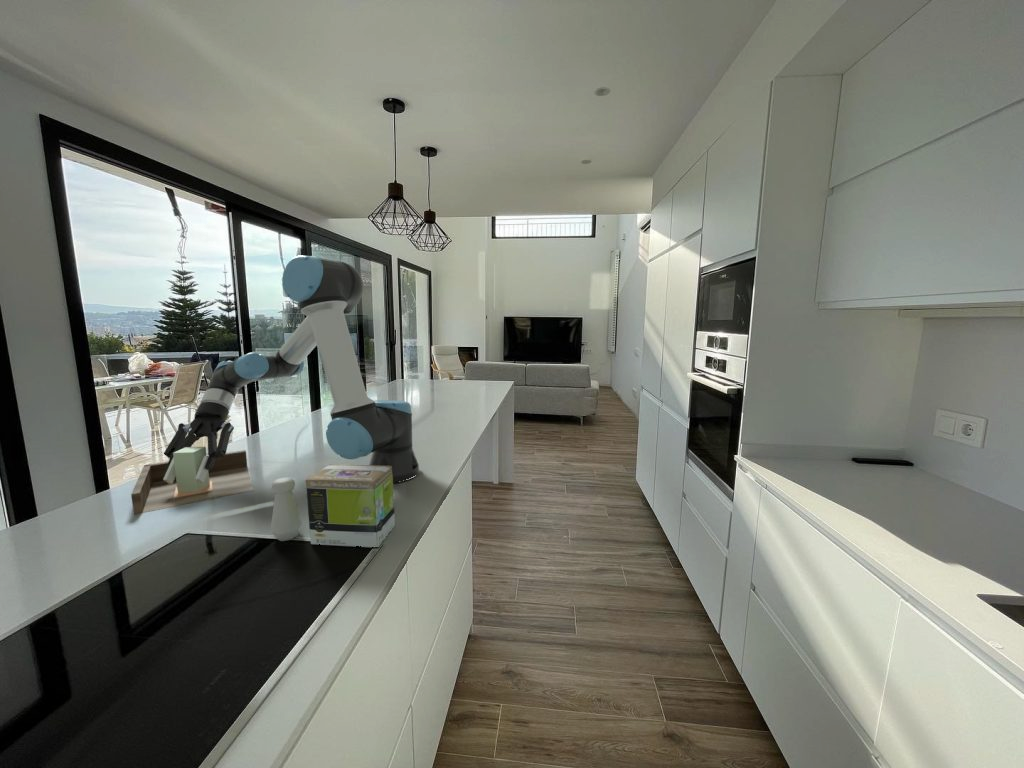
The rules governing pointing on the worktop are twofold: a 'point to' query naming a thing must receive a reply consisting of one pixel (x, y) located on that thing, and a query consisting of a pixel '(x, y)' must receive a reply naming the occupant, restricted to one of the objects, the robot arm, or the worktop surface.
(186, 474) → the sage block
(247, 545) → the worktop surface
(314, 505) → the tea box
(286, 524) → the salt shaker
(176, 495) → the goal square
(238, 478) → the tray
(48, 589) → the worktop surface
